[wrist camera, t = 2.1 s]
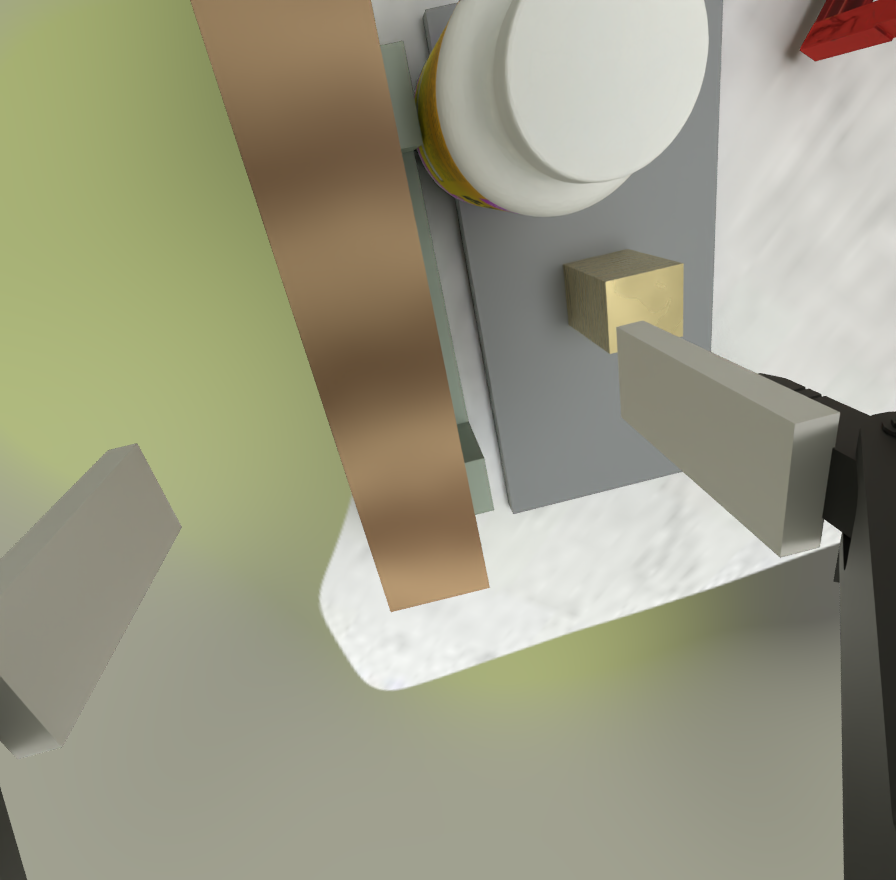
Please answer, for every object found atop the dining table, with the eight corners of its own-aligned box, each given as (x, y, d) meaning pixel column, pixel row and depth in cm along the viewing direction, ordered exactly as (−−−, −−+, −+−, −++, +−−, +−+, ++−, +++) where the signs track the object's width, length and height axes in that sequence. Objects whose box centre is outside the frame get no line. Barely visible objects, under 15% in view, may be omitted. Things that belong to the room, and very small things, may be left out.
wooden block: (563, 264, 25) (605, 281, 21) (627, 249, 25) (683, 263, 21) (568, 325, 26) (609, 354, 22) (629, 310, 26) (683, 336, 22)
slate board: (422, 17, 21) (425, 9, 20) (709, -46, 21) (724, -56, 20) (509, 504, 32) (513, 514, 31) (697, 457, 32) (707, 465, 31)
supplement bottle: (427, 219, 24) (481, 253, 13) (394, 45, 21) (426, -114, 10) (567, 189, 24) (742, 196, 13) (554, 13, 21) (767, -179, 10)
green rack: (251, 101, 21) (221, 79, 17) (395, 69, 22) (403, 40, 17) (373, 486, 30) (375, 540, 26) (475, 461, 30) (494, 510, 26)
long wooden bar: (218, 17, 16) (183, -22, 13) (360, -12, 16) (359, -57, 13) (388, 561, 26) (390, 612, 23) (475, 540, 26) (489, 587, 23)
